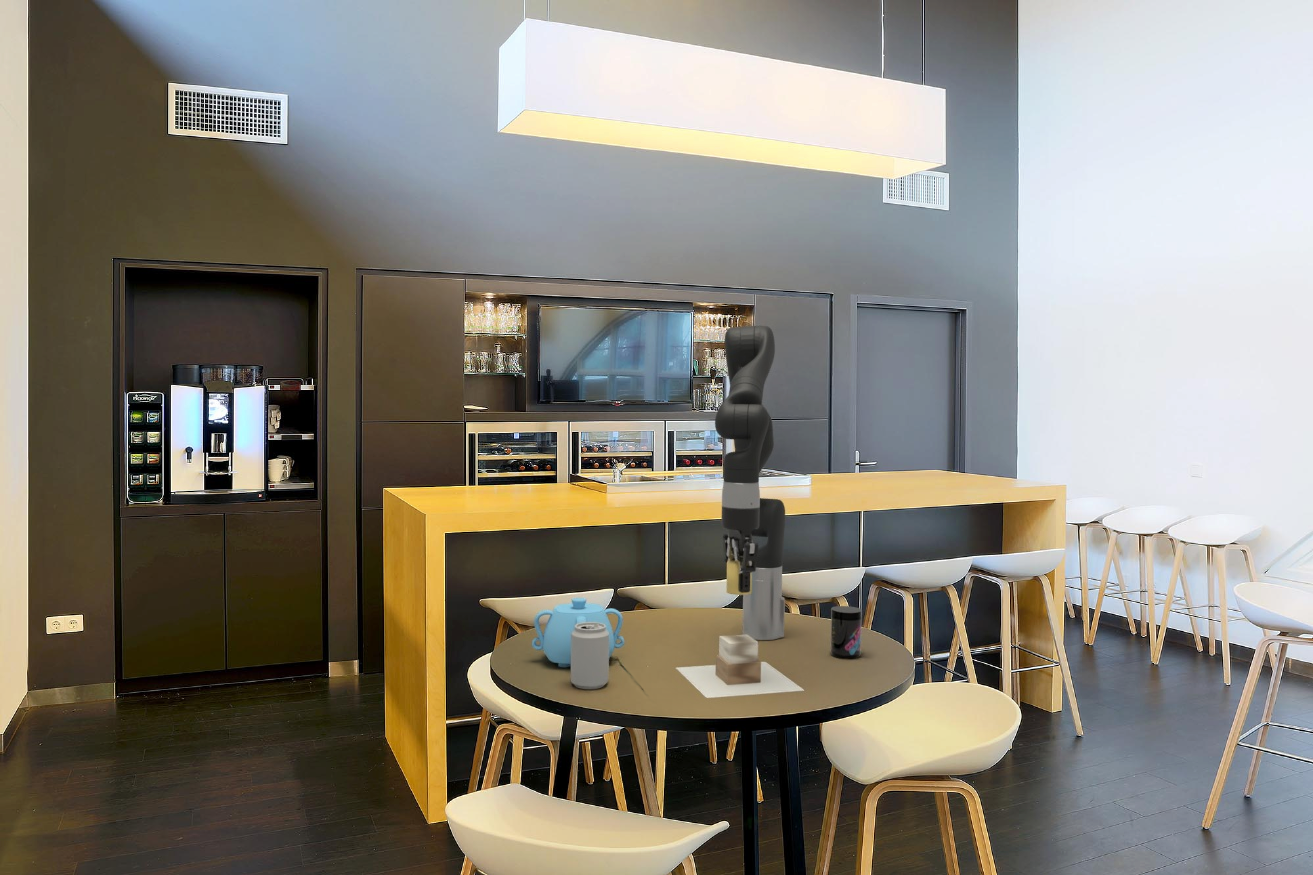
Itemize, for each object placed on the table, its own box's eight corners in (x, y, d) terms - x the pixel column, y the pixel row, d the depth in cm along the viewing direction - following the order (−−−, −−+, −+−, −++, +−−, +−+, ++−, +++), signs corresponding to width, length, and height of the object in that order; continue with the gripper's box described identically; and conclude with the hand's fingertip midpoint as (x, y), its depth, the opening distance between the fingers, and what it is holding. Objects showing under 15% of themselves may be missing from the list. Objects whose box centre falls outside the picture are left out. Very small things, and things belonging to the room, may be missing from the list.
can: (570, 679, 187) (571, 620, 187) (607, 678, 188) (608, 620, 188) (570, 690, 180) (571, 629, 179) (609, 690, 181) (609, 629, 180)
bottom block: (747, 672, 190) (748, 653, 190) (760, 682, 184) (761, 662, 183) (715, 674, 188) (715, 655, 188) (727, 685, 182) (727, 664, 182)
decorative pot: (574, 677, 189) (575, 611, 188) (524, 660, 200) (525, 598, 199) (631, 661, 201) (632, 599, 200) (581, 646, 212) (582, 587, 211)
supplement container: (840, 660, 204) (841, 613, 203) (824, 652, 210) (825, 606, 210) (866, 658, 206) (867, 611, 205) (850, 650, 212) (851, 605, 212)
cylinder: (746, 589, 188) (746, 559, 188) (755, 594, 184) (755, 564, 183) (723, 590, 187) (723, 560, 187) (731, 595, 182) (732, 565, 182)
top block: (746, 653, 190) (747, 634, 189) (757, 662, 184) (758, 642, 184) (718, 655, 188) (719, 636, 188) (729, 663, 182) (729, 643, 182)
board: (765, 666, 198) (765, 661, 198) (804, 695, 179) (804, 690, 179) (675, 672, 193) (675, 667, 193) (706, 703, 174) (706, 697, 174)
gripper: (772, 508, 179) (770, 596, 179) (745, 500, 192) (743, 581, 193) (735, 509, 177) (733, 597, 177) (711, 500, 190) (709, 583, 191)
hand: (739, 588), depth 185 cm, fingers closed on cylinder, 5 cm apart
